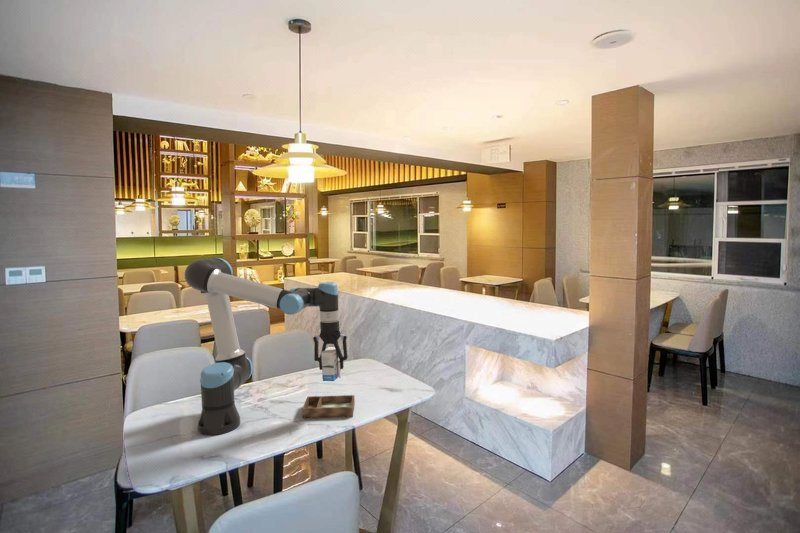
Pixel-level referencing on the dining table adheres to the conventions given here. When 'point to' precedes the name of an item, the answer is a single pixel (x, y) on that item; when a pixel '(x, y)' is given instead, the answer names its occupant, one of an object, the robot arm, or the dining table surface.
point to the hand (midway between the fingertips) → (331, 376)
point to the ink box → (330, 364)
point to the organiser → (328, 406)
